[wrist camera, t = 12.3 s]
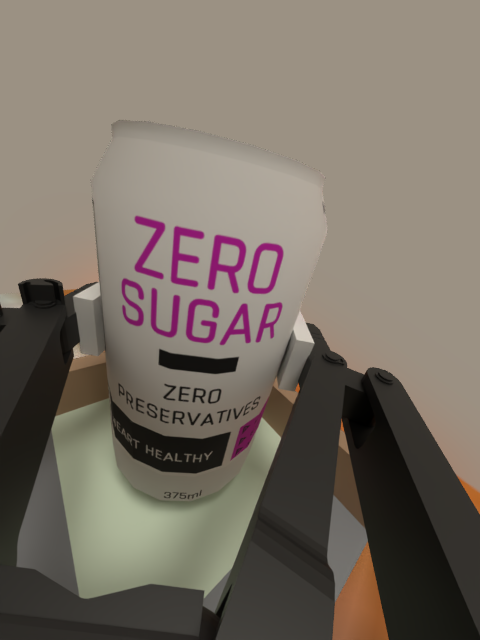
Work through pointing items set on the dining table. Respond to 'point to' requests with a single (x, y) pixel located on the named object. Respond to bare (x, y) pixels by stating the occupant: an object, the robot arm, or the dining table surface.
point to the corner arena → (154, 506)
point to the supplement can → (197, 295)
